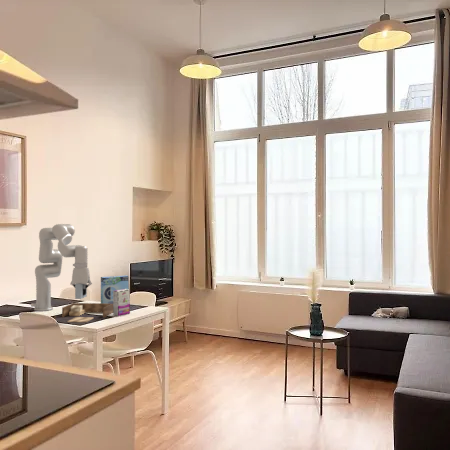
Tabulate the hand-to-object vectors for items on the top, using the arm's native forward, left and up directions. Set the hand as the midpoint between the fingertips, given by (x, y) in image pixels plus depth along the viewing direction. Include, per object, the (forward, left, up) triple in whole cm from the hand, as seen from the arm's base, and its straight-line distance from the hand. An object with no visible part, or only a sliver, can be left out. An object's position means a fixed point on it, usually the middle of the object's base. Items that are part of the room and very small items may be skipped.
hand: (81, 294), depth 290 cm
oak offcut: (-9, +18, -16) cm, 26 cm away
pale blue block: (0, 0, -2) cm, 2 cm away
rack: (-2, +18, -16) cm, 24 cm away
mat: (0, 0, -16) cm, 16 cm away
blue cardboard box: (+8, +44, -16) cm, 48 cm away
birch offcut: (-10, +18, -13) cm, 24 cm away
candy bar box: (+20, +20, -16) cm, 33 cm away
